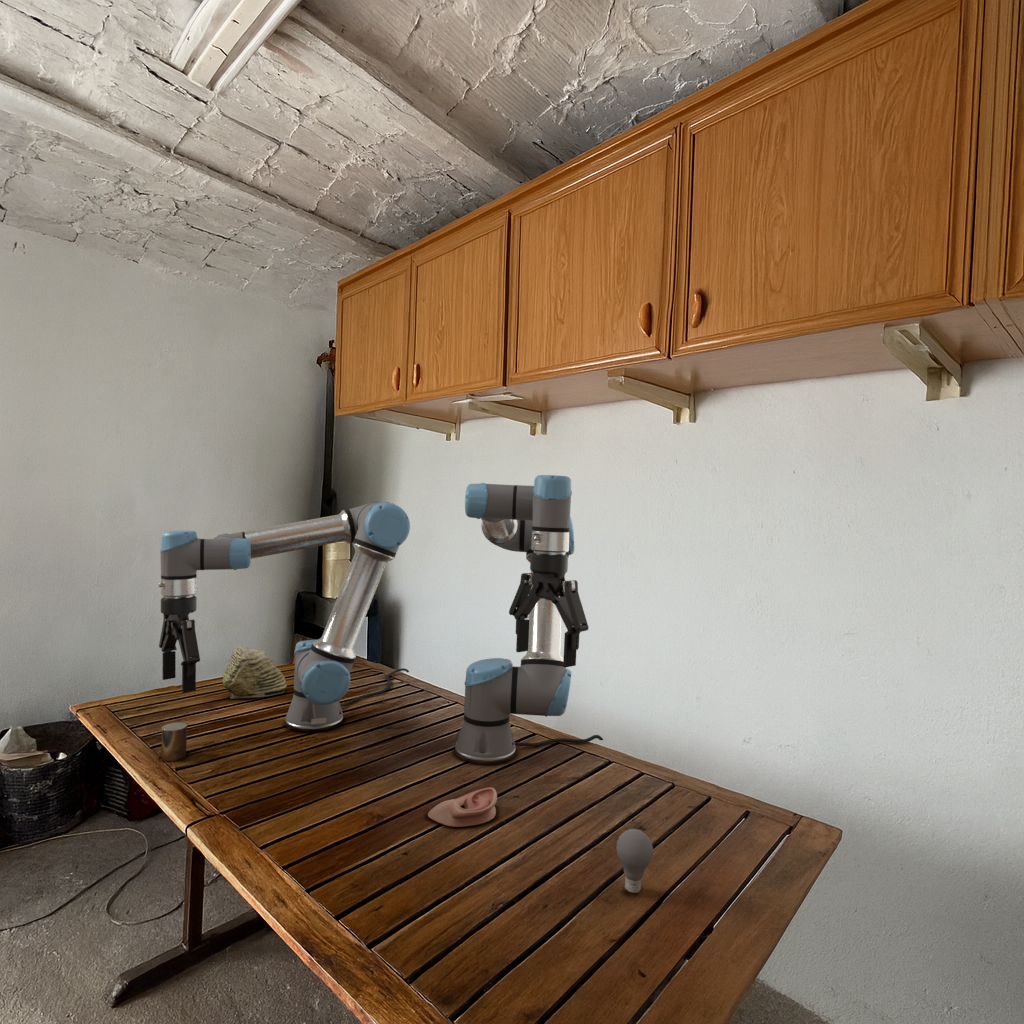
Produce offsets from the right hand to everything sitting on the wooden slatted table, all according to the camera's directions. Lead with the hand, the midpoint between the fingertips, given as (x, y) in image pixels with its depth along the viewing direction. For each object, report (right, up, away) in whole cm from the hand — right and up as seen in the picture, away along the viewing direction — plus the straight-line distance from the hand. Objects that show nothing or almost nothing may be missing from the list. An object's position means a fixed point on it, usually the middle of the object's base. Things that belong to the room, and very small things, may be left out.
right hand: (544, 658), depth 127 cm
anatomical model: (-17, -32, +2) cm, 36 cm away
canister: (-87, -29, +24) cm, 95 cm away
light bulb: (+14, -34, -21) cm, 42 cm away
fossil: (-87, -28, +71) cm, 116 cm away
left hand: (-86, -12, +24) cm, 90 cm away
